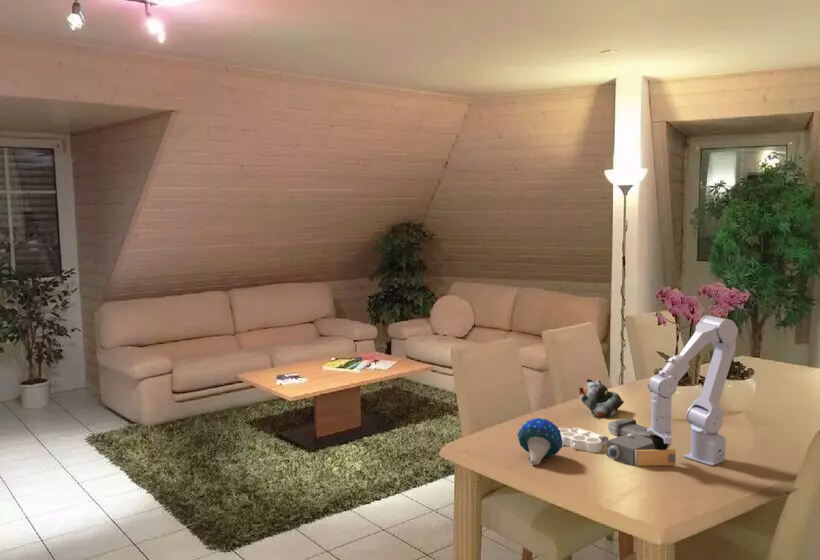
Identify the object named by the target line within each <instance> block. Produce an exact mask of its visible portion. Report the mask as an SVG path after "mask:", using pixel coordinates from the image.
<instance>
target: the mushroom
mask: <svg viewBox="0 0 820 560" xmlns="http://www.w3.org/2000/svg"><path fill="white" fill-rule="evenodd" d="M558 428H559V427H558V426H557V425H556V424H555V423H554V422H553V421H550V420H549V419H546V418H540V417H537V418H532V419H530V420H527V421H526V422H525V423H523V425H522V426H521V427H520V429H519V430H518V433H517V439H518V441H519V442H518V443H519V445H520V447H521V448H523V450H525V451H526V452H527V453H529V458H530V459H529V460H530V464H531V465H532V466H538V465H539V464H540V463H541V462H542V460H543V458H544V457H545V458H548V457H553V456H555V455H556V454H557V453H558V452H559V451H560V450H561V449H562V448H563V445H562V444H563V442H562V437H561V433H560V430H559V429H558Z"/></svg>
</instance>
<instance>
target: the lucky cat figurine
mask: <svg viewBox="0 0 820 560" xmlns="http://www.w3.org/2000/svg"><path fill="white" fill-rule="evenodd" d="M606 386H607V385H605V384H603V383H602V382H601V380H600V379H597V380H596V381H593V380H591V379H590V378H587V379H586V383H585V386H584V387H578V394H579V398H580V399H579V400H580V401H581V402H582V403H583V404H584V405H585V406H586V407H587V408H588V410H589V411H591V412H593V413H594V415H596V416H597V417H599V418H606V419H608V418H609V417H612V416H613V415H616V413H617V411H618V409H620V408H621V406H622V405H623V404H624V402H625V401H624V400H622V398H621V396H620V395H619V394H618V393H617V392H614V391H610V390H609V389H608V387H606Z"/></svg>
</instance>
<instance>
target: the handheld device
mask: <svg viewBox="0 0 820 560" xmlns="http://www.w3.org/2000/svg"><path fill="white" fill-rule="evenodd" d="M607 428H608V432H609V433H611V434H612V435H613V436H615V437H616V438H617V437H620V436H623V435H626V434H630V433H633V434H636V435H639V436H643V437H646V438H649V439H651V437H650V435H652V434H653V433H649V432H647V428H648V427H647V426H644V425H639V424H638V423H637V420H636V419H634V418H622V419H621V418H620V419H618V420H613V421H609V422H608V425H607Z"/></svg>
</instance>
